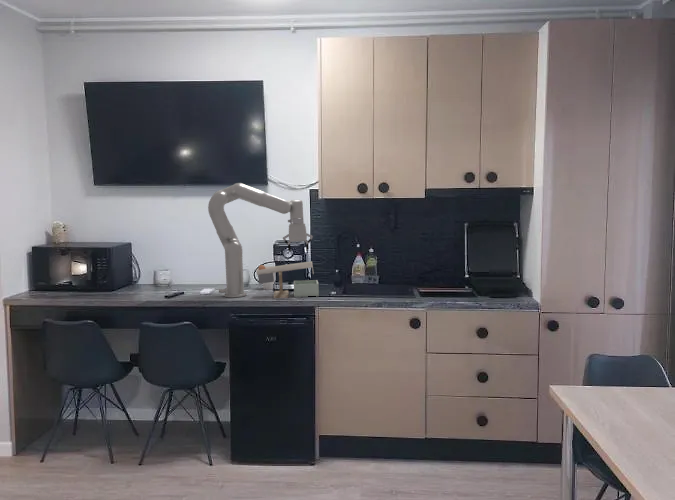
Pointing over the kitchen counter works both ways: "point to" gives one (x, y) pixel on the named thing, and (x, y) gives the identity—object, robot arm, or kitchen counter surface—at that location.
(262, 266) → the ball
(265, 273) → the tipping trough
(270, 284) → the foam cup
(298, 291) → the cup
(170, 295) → the kitchen counter surface
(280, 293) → the lever stand
